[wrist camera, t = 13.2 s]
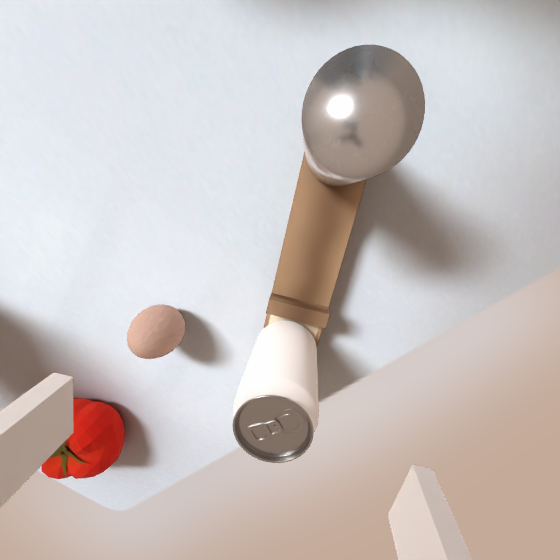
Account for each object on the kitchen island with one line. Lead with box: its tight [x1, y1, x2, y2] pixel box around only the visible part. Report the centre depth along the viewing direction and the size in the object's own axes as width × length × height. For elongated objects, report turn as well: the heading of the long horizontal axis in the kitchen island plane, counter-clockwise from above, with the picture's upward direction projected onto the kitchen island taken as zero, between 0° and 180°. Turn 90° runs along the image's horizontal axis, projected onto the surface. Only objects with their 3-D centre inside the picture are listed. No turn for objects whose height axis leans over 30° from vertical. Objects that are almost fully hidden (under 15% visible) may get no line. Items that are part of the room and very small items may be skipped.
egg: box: [127, 305, 185, 359], centre depth 32 cm, size 5×5×7 cm
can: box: [233, 320, 319, 463], centre depth 26 cm, size 6×6×12 cm
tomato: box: [42, 398, 125, 479], centre depth 38 cm, size 10×11×6 cm
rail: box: [264, 152, 366, 348], centre depth 29 cm, size 6×31×4 cm, turn 167°
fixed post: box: [302, 45, 425, 186], centre depth 21 cm, size 6×6×12 cm
